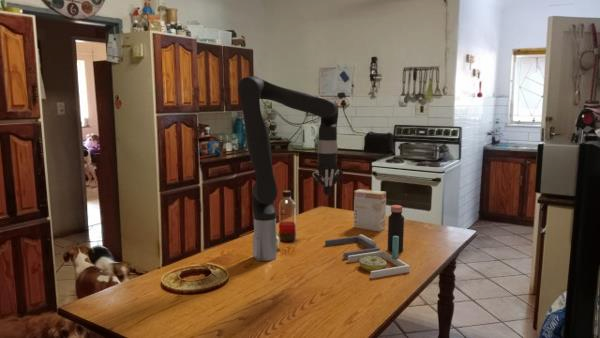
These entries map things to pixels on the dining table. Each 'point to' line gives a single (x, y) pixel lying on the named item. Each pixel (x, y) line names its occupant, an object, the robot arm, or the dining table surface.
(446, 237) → the dining table surface
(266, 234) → the robot arm
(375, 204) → the coffeecake box
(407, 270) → the white u-shaped bracket
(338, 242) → the grey u-shaped handle
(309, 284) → the dining table surface
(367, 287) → the dining table surface
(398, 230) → the vinegar
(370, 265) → the decorated donut
